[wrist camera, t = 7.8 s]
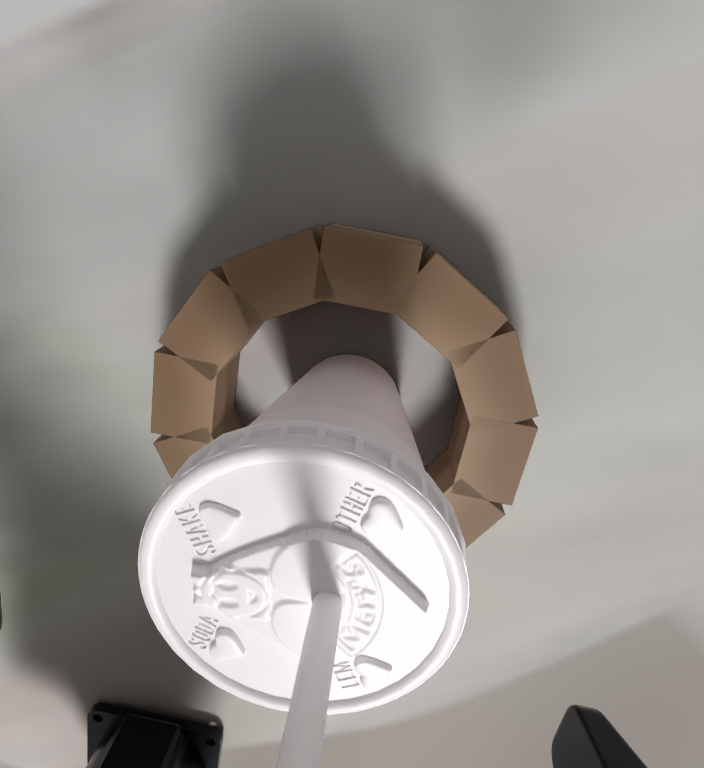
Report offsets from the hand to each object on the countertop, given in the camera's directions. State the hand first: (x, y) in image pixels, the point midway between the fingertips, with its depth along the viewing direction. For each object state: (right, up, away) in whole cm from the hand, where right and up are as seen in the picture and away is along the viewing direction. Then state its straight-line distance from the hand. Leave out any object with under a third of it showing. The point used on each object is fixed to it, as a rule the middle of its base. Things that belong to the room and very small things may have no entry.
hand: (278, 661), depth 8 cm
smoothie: (+1, +4, +11) cm, 12 cm away
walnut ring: (+1, +4, +11) cm, 11 cm away
